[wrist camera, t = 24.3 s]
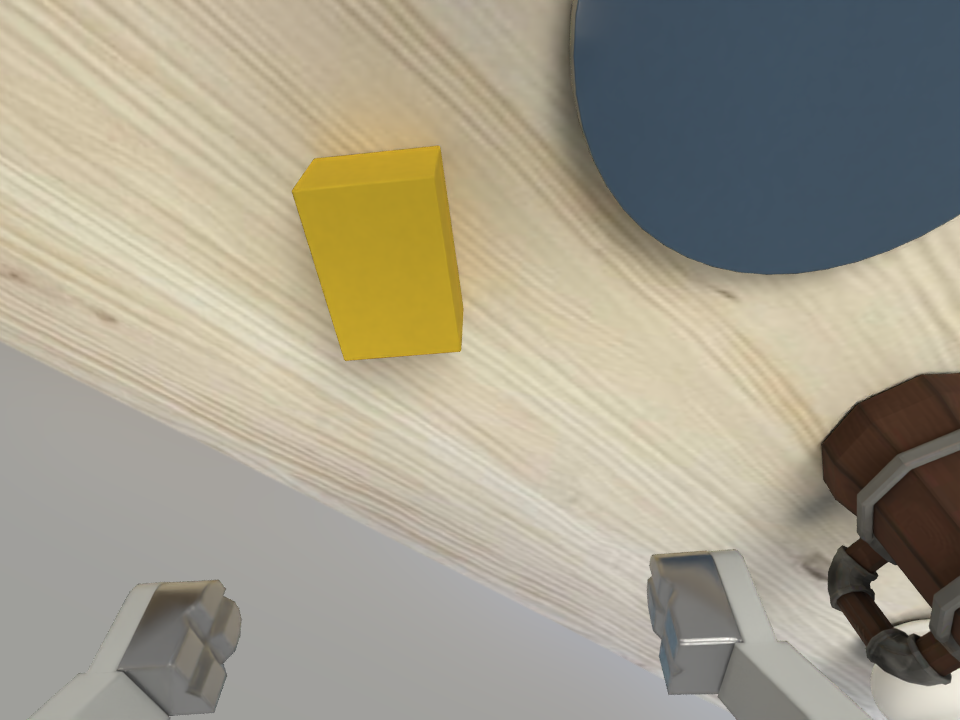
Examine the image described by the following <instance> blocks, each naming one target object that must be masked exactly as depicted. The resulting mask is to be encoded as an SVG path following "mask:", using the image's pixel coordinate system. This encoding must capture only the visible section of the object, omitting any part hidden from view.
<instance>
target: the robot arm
mask: <svg viewBox="0 0 960 720" xmlns="http://www.w3.org/2000/svg"><path fill="white" fill-rule="evenodd" d="M649 566H650V570H651V574H652V576H651V577H650V578H649V579H648V582H647V599H648V608H649V614H650V619H651V624H652V628H653V631H654V632H655V633H656V634H657V635H658V636H659V637H660V638H661V639H662V640H661V646H660V653H659V658H660V662H661V666H662V670H663V674H664V678H665V682H666V686H667V690H668V694H669V695H676V694H677V695H681V694H718V698H719V699H720V700H721V701H722V703H723V704H724V705H725V706H726V707H727V709H728V710H729V711H730V712H731V713H732V715H733V716H734V717H735V718H736V719H737V720H874V719H873V718H871V717H870V716H869V715H868V714H867V713H866V712H865V711H864V710H863V709H862V708H860V707H859V706H858V705H857V704H856V703H855V702H854V701H853V700H852V699H850V698H849V697H848V696H847V695H846V694H845V693H844V692H843V691H842V690H840V689H839V688H838V687H837V686H836V685H835V684H834V683H833V682H832V681H830V680H829V679H828V678H827V677H826V676H825V675H824V674H823V673H822V672H820V671H819V670H818V669H817V668H816V667H815V666H814V665H813V664H812V663H811V662H809V661H808V660H807V659H806V658H805V657H804V656H803V655H802V654H801V653H799V652H798V651H797V650H796V649H795V648H794V647H793V646H792V645H791V644H789V643H788V642H787V641H777V638H776V636H775V633H774V631H773V628H772V626H771V624H770V621H769V619H768V616H767V614H766V611H765V609H764V606H763V604H762V602H761V599H760V597H759V594H758V592H757V589H756V587H755V585H754V582H753V580H752V577H751V575H750V572H749V570H748V567H747V565H746V563H745V560H744V558H743V556H742V555H741V554H740V552H739V551H737V550H735V549H733V550H717V551H695V552H681V553H668V554H655V555H652V556H651V558H650V565H649ZM225 590H226V588H225V587H224V586H223V584H222V583H221V582H220V581H219V580H202V581H185V582H159V583H143V584H138V585H137V586H135V587H134V588H133V589H132V590H131V591H130V592H129V594H128V596H127V597H126V599H125V601H124V603H123V605H122V607H121V609H120V611H119V613H118V615H117V616H116V618H115V620H114V622H113V624H112V626H111V628H110V630H109V631H108V633H107V635H106V637H105V639H104V641H103V643H102V645H101V646H100V648H99V650H98V652H97V654H96V656H95V658H94V660H93V662H92V663H91V665H90V667H89V669H88V671H87V673H79V674H78V675H77V676H75V677H74V678H73V679H72V680H71V681H70V682H69V683H67V684H66V685H65V686H64V687H63V688H62V689H61V690H60V691H59V692H57V693H56V694H55V695H54V696H53V697H52V698H51V699H49V700H48V701H47V702H46V703H45V704H44V705H43V706H42V707H41V708H40V709H38V710H37V711H36V712H35V713H34V714H33V715H31V716H30V717H29V718H28V719H27V720H170V717H169V716H175V715H189V714H204V713H214V712H215V708H216V706H217V703H218V700H219V697H220V694H221V691H222V689H223V686H224V683H225V680H226V677H227V673H226V670H225V667H224V664H223V663H224V662H225V661H226V660H227V659H228V658H229V657H230V656H231V655H232V654H233V652H235V650H236V647H237V644H238V641H239V638H240V632H241V614H240V610H239V608H238V606H237V605H236V603H235V602H234V601H232V600H230V599H228V598H226V597H224V593H225Z"/></svg>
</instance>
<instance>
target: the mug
mask: <svg viewBox="0 0 960 720" xmlns="http://www.w3.org/2000/svg"><path fill="white" fill-rule="evenodd" d="M822 457H823V477H824V481H825V483H826V485H827V486H828V488H829V490H830V491H831V493H832V495H833V496H834V498H835V500H837V501H838V502H839V503H840V504H842V505H843V506H844V507H846V508H847V509H848V510H849V511H851V512H852V513H853V514H854V515H856V516H857V533H858V535H859V536H860V539H859V540H857V541H856V542H855V543H853V544H852V545H851V546H849V547H848V548H847V547H845V546H843V545H842V546H841V547H840V548H839V549H838V550H837V553H836V555H835V556H834V558H833V561H832V563H831V566H830V568H829V571H828V592H829V595H830V603H831V606H832V608H835V609H837V610H839V611H841V612H843V614H844V615H845V616H846V618H847V619H848V621H849V622H850V624H851V625H852V627H853V628H854V629H855V631H856V632H857V634H858V635H859V637H860V638H861V640H862V641H863V642H864V644H865V645H866V654H867V658H868V659H869V660H870V661H871V662H873V663H875V664H877V665H878V666H879V667H880V668H881V669H882V670H883V671H884V672H886V673H888V674H890V675H893V676H895V677H897V678H899V679H901V680H903V681H906V682H908V683H913V684H918V685H923V686H933V685H938V684H944V685H947V684H949V683H951V679H952V675H951V673H952V672H953V671H955V670H957V669H959V668H960V373H954V374H925V375H920V376H918V377H916V378H914V379H911V380H909V381H907V382H905V383H903V384H900V385H898V386H896V387H894V388H891V389H889V390H887V391H885V392H883V393H880V394H878V395H876V396H874V397H872V398H869V399H867V400H865V401H863V402H861V403H858V404H857V405H856V406H855V408H854V409H853V410H852V411H851V412H850V413H849V414H848V415H847V417H846V418H845V419H844V420H843V421H842V422H841V423H840V424H839V426H838V427H837V428H836V429H835V430H834V431H833V432H832V434H831V435H830V436H829V437H828V438H827V439H826V440H825V441H824V443H823V444H822ZM887 562H890V563H892V564H894V565H898V566H899V568H900V569H901V570H902V571H903V573H904V574H905V575H906V576H907V578H908V579H909V580H910V582H911V583H912V584H913V585H914V587H915V588H916V589H917V590H918V592H919V593H920V594H921V595H922V597H923V598H924V599H925V600H926V602H927V603H928V604H929V605H930V607H931V608H932V611H931V618H930V622H929V629H930V632H928V633H926V634H925V635H923V636H919V635H917V634H914V633H913V634H911V635H909V636H908V635H907V634H906V633H905V632H903V631H901V630H899V629H897V628H894V627H893V626H892V625H891V623H890V622H889V620H888V619H887V618H886V616H885V615H884V614H883V612H882V611H881V610H880V608H879V607H878V606H877V604H876V603H875V602H874V600H875V593H874V591H873V590H872V589H871V588H870V583H871V581H874V580H876V579H877V577H878V574H877V573H876V570H878V569H879V568H880V567H882V566H883V565H885V564H886V563H887Z"/></svg>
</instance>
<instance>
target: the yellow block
mask: <svg viewBox="0 0 960 720" xmlns="http://www.w3.org/2000/svg"><path fill="white" fill-rule="evenodd" d="M292 194H293V197H294V200H295V203H296V206H297V210H298V213H299V216H300V219H301V223H302V226H303V229H304V232H305V235H306V239H307V242H308V245H309V248H310V251H311V255H312V258H313V261H314V264H315V267H316V271H317V274H318V277H319V280H320V283H321V287H322V290H323V293H324V296H325V300H326V303H327V306H328V309H329V312H330V316H331V319H332V322H333V325H334V328H335V332H336V335H337V338H338V341H339V344H340V348H341V351H342V354H343V357H344V360H345V361H349V360H362V359H374V358H387V357H399V356H412V355H424V354H437V353H449V352H460V351H461V345H462V326H463V302H462V295H461V288H460V281H459V274H458V267H457V260H456V253H455V246H454V239H453V232H452V225H451V219H450V212H449V205H448V198H447V191H446V184H445V177H444V170H443V163H442V156H441V149H440V146H431V147H421V148H412V149H402V150H393V151H383V152H374V153H364V154H354V155H345V156H335V157H326V158H316V159H313V161H312V162H311V164H310V165H309V167H308V168H307V170H306V171H305V172H304V174H303V175H302V177H301V178H300V180H299V181H298V182H297V184H296V185H295V187H294V188H293V190H292Z"/></svg>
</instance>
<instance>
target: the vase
mask: <svg viewBox="0 0 960 720" xmlns="http://www.w3.org/2000/svg"><path fill="white" fill-rule="evenodd" d="M929 622H930V619H926V620H917V621H911V622H908V623H903V624H901V625H898V626H894V628H897V629H899V630H901V631H903V632H905V633H906V634H907V635H908V636H909V635H911V634H913V633H914V634H917V635H919V636H923V635H925V634H926V633H928V632H930V629H929ZM951 675H952V679H951V683H949V684H947V685H944V684H938V685H933V686H923V685H918V684H913V683H908V682H906V681H903V680H901V679H899V678H897V677H895V676H893V675H890V674H888V673H886V672H884V671H883V670H882V669H881V668H880V667H879V666H878V665H877V664H874V667H873V669H872V673H871V679H870V685H871V692H872V695H873V698H874V701H875V703H876V705H877V706H878V708H879V709H880V711H881V712H882V713H883V715H884V716H885V717H886V718H887V719H888V720H960V668H959V669H957V670H955V671H953V672H952V673H951Z"/></svg>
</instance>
